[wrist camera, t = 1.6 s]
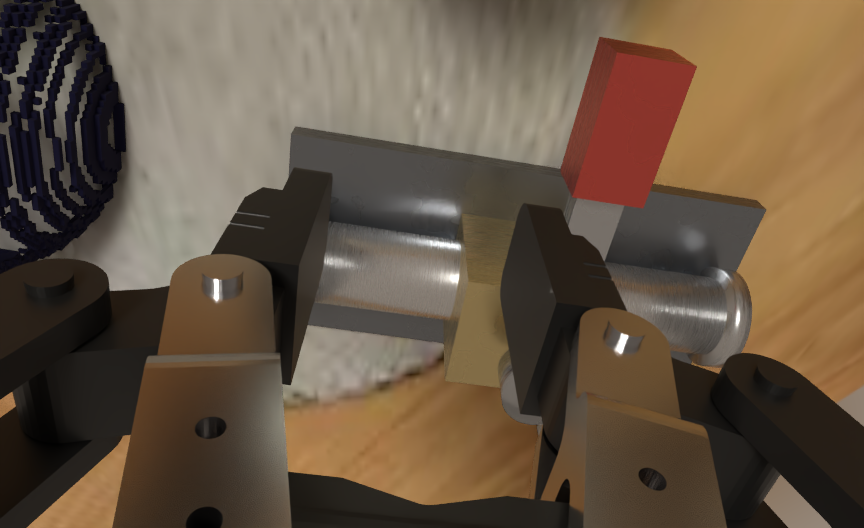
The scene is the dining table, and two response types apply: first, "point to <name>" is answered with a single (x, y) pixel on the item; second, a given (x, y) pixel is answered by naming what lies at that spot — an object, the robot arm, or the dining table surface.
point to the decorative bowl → (27, 144)
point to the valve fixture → (488, 247)
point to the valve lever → (614, 149)
